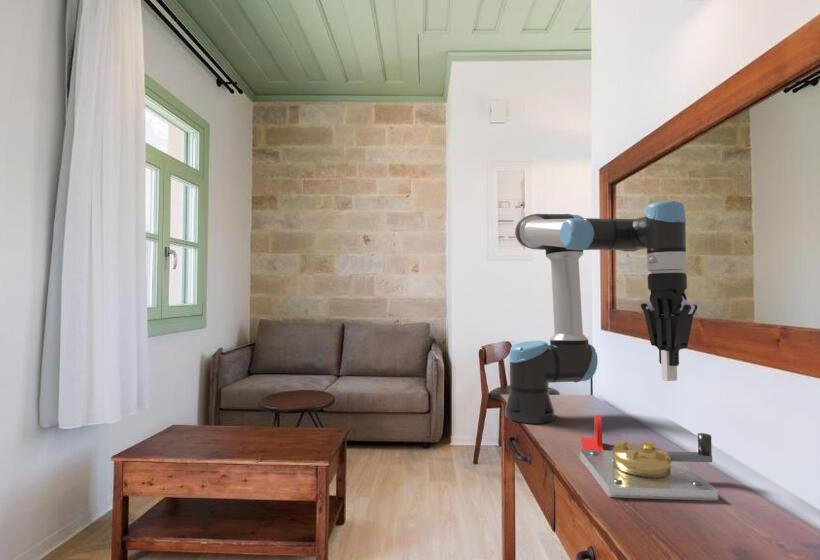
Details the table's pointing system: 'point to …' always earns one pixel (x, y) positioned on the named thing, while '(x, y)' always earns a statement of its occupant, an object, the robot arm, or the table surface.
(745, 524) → the table surface
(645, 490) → the flange plate
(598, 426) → the bracket
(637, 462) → the ball knob lever
